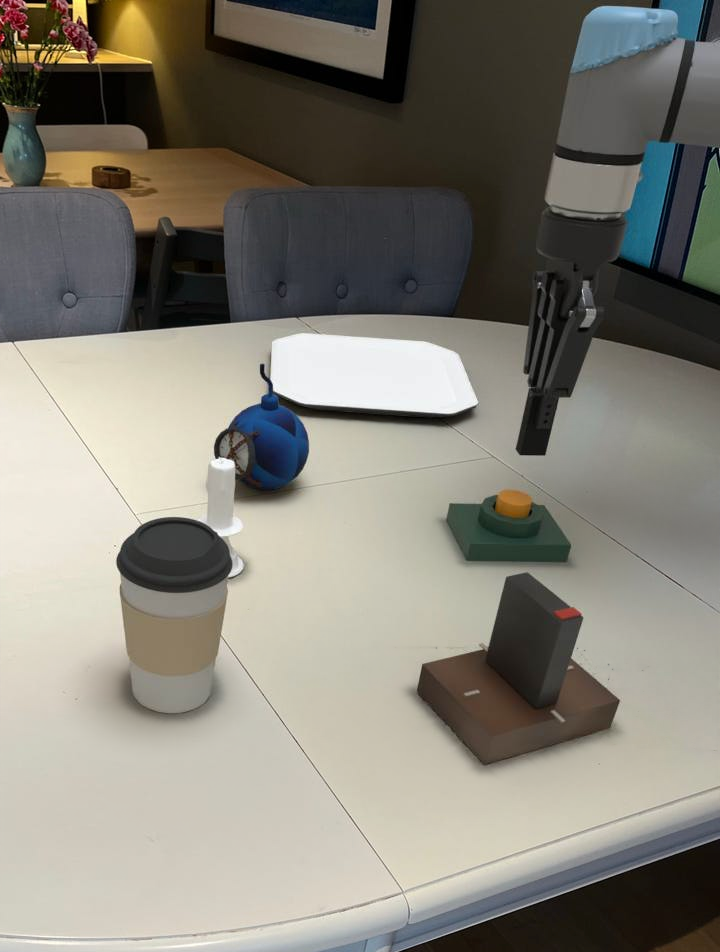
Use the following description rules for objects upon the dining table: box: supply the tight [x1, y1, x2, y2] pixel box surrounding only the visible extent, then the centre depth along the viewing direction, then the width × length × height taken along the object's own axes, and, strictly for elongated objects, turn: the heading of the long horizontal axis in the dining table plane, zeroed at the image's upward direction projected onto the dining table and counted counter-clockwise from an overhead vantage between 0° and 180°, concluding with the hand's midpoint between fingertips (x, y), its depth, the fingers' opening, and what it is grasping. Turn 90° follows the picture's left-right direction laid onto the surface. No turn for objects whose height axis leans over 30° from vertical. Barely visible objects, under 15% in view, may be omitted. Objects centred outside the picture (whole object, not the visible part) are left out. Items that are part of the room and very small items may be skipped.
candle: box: [196, 457, 245, 579], centre depth 97 cm, size 5×5×12 cm
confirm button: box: [495, 489, 533, 518], centre depth 106 cm, size 4×4×2 cm
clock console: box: [416, 642, 621, 765], centre depth 84 cm, size 13×11×3 cm
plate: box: [269, 332, 479, 419], centre depth 145 cm, size 29×29×2 cm
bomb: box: [213, 363, 310, 491], centre depth 112 cm, size 10×11×15 cm
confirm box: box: [445, 494, 572, 563], centre depth 108 cm, size 11×9×4 cm
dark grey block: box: [485, 571, 584, 708], centre depth 80 cm, size 7×2×9 cm, turn 24°
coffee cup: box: [115, 516, 233, 714], centre depth 80 cm, size 9×9×15 cm
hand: (530, 452), depth 102 cm, fingers closed
